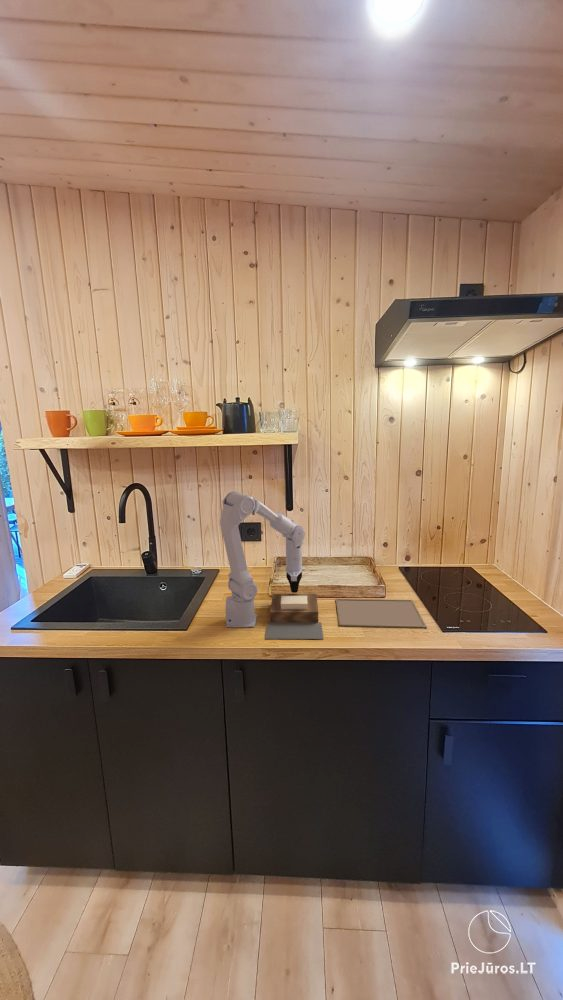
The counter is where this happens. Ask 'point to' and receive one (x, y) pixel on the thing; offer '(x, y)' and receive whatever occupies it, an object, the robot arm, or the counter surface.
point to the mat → (294, 630)
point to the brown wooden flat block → (294, 610)
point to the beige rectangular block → (294, 602)
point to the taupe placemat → (378, 613)
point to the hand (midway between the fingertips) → (294, 591)
